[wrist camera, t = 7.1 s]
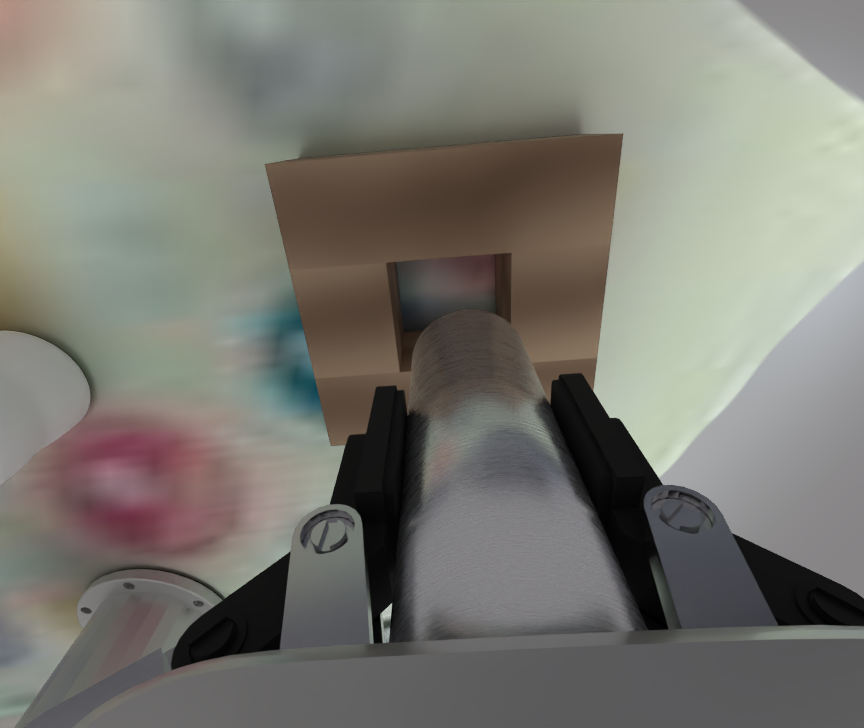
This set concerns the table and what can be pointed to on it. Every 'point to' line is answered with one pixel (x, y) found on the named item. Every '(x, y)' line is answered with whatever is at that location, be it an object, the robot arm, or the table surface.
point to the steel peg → (495, 501)
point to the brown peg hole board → (445, 252)
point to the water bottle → (35, 398)
